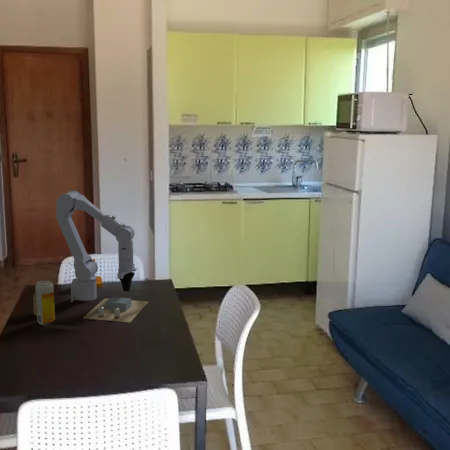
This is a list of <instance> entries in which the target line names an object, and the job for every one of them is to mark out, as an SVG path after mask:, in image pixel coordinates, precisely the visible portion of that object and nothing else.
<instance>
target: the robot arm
mask: <svg viewBox="0 0 450 450" xmlns="http://www.w3.org/2000/svg"><path fill="white" fill-rule="evenodd" d="M55 204H56V205H55V206H56V210H55V217H56V218H55V219H56V221H57V223H58V226H59V228H60V229H61V232H62V235H63V237H64V239H65V242H66V244H67V246H68V248H69V251H70V253H71V255H72V258H73V268H74V275H75V276H74V277H75V278H73V279H72V280H71V283H70V296H71V297H70V298H71V300H70V303H72V302H74V301H75V300H77V301H82V302H89V301H91V302H92V301H94V300H96V299H97V297H98V295H97V288H96V273H97V272H98V269H99V267H98V264H97V262H96V261H95V262H94V261H93V260H92V259H93V258H92V256H91V255H89V254H88V253H87V251H86V248H85V245H84V244H83V241H82V238H81V236H80V234H79V232H78V229H77V227H76V225H75V223H74V220H73V219H72V216H73V215H74V212H75V211H83V212H86V213H87V214H88V215H90V216H91V217H92V218H94V219H96V220H97V221H99V222H100V225H101V227H102V228H103V229H104V230H106V231H107V232H109V233H110V234H111V235H112V236H113V237H115V239H116V241H117V243H118V245H117V248H118V250H117V252H118V267H117V268H118V269H117V271H118V272H117V273H116V274H117V275H116V277H117V279H119V281H120V283H121V287H122V290H123V292H130V291H131V286H132V282H133V278H134V276H135V272H136V271H137V268H136V267H135V263H134V241H133V240H134V237H135V231H134V228H132V226H130V225H127V224H126V223H123V222H121V221H120V220H119V219H117V216H115V215H111V214H105V213H104V212H103V211H102V210H101V209H99V208H98V207H97V206H96V205H94V204H93V203H92V202H91V201H89V199H88V198H87V197H86V196H85V195H84V194H81V193H80V192H79V191H76V190H70V191H69V192H66V193H62V194H61V195H59V197H58V198H57V200H56V202H55Z"/></svg>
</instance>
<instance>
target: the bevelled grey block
mask: <svg viewBox="0 0 450 450" xmlns="http://www.w3.org/2000/svg"><path fill="white" fill-rule="evenodd" d="M108 299H109V300H107V301H106V310H114V308H120V311H127V310H128V309H129V308H130V307H131V300H132V298H130V297H120V296H119V297H116V296H111V297H110V298H108Z"/></svg>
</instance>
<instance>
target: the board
mask: <svg viewBox="0 0 450 450" xmlns="http://www.w3.org/2000/svg"><path fill="white" fill-rule="evenodd" d="M109 299H110V298H109V297H108V298H107V297H106V298H105V297H104V299H102V300H101V301H100V302H99V303H98V304H97V305H95V306H94V308H92V309H91V310H89V312H88V313H87V314H85V315H84V316H83V317H82V319H84V320H85V319H87V320H98V321H99V320H100V321H111V322H121V323H122V322H123V323H124V322H125V323H132V321H133V320H134V319H135V318H136V317H137V315H138V314H139V313H140V312H141V311H142V310H143V308H145V307H146V305H148V303H149V301H145V300H132V299H131V307H130V308H129V309H128V310H127V311H120V318H119V319H115V318H114V310H106V301H107V300H109ZM101 306H102V307H104V317H102V318H100V317H99V316H98V307H101Z"/></svg>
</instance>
